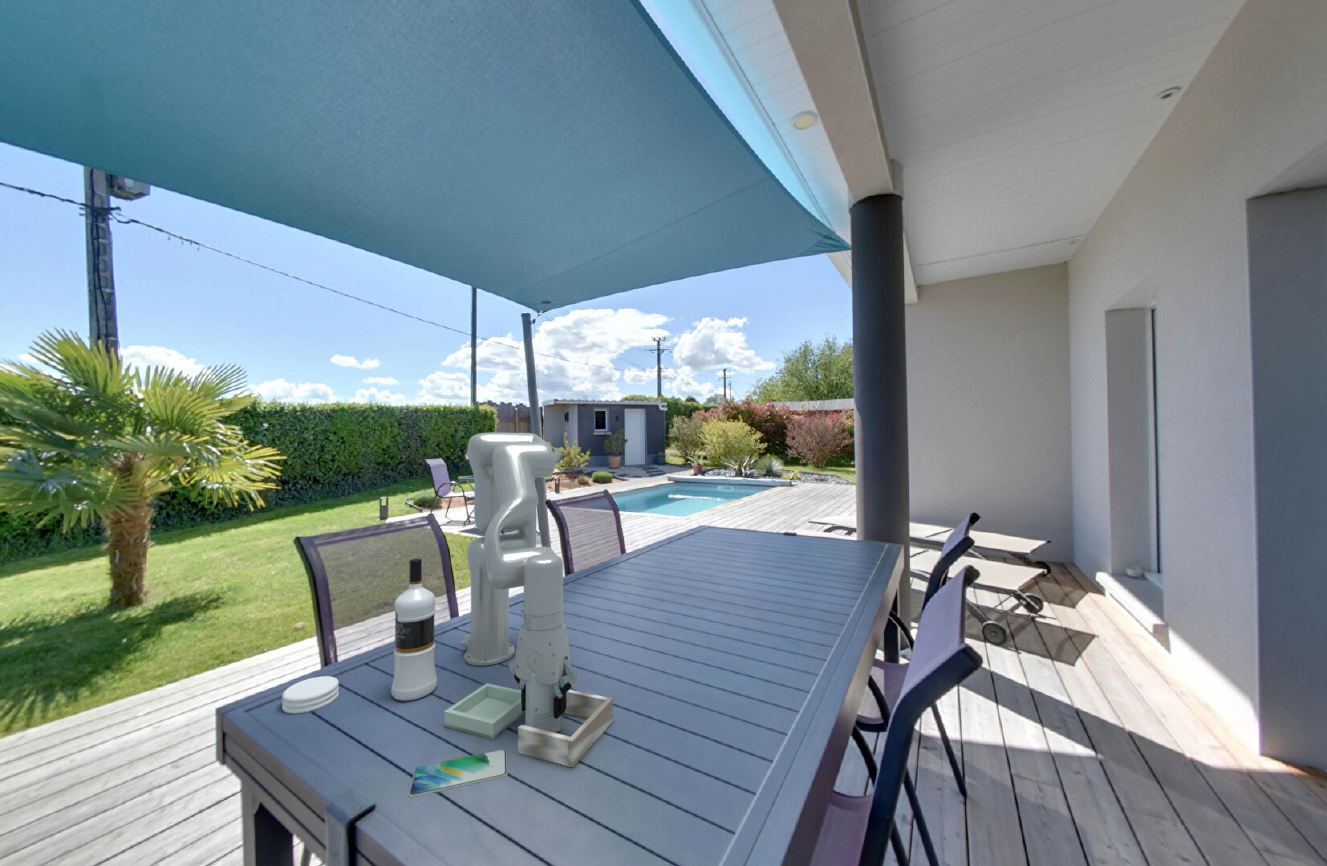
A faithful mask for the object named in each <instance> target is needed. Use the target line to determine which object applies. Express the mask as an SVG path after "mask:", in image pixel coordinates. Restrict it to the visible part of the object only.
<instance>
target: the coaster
mask: <svg viewBox="0 0 1327 866" xmlns="http://www.w3.org/2000/svg"><path fill="white" fill-rule="evenodd" d="M339 684H340V682H339V680H338V679H337V678H336V677H333V676H329V675H328V676H327V675H325V676H324V675H323V676H315V677H311V678H306V679H305V680H301V681H299V682H298V681H297V682H296V683H294V684H292V685H290V686H288V688H286V689H285V690H284V691H283V693H282V695H281V698H282V700H281V703H282V705H281V709H282V711H283V712H284V713H287V714H292V715H293V714H294V715H295V714H297V715H298V714H304V713H310V712H313V711H316V710H319V709H321V708H324V707H326V706H328V705H330V704H331V703H332V702H335V700H336V699H337V698H338V697H339V694H340V693H339V692H340V691H339Z"/></svg>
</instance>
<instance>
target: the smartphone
mask: <svg viewBox="0 0 1327 866" xmlns="http://www.w3.org/2000/svg"><path fill="white" fill-rule="evenodd" d="M507 776H508V752H507V750H506V749H499V750H492V751H488V752H483V753H477V754H473V755H468V756H463V757H459V758H458V757H457V758H454V759H448V760H444V761H439V762H435V763H428V764H423V765H420V766H417V767H416V768H415V769H414V771H413V777H412V780H411V784H410V788H409V792H408V797H409V798H411V799H413V798H417V796H418V797H421V796H427V795H430V794H429V793H432V794H435V793H434V792H436V793H440V792H444V791H448V790H453V789H458V787H459V788H463V787H464V786H463V785H468V784H472V785H476V784H480V782H481V783H485V782H490V781H494V780H499V779H503V778H506V777H507ZM489 780H490V781H489ZM484 781H485V782H484ZM462 786H463V787H462ZM468 786H469V785H468Z"/></svg>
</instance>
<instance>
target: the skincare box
mask: <svg viewBox="0 0 1327 866" xmlns="http://www.w3.org/2000/svg"><path fill="white" fill-rule="evenodd" d="M559 684H560V682H559ZM560 687H561V684H560ZM561 688H562V687H561ZM555 696H556V693H555V691H554V688H553V685H545V684H540V683H537V682H536V674H531V681H526V713H525V714H524V715H525V719H524V720H525V721H524V722H525V723H524V725H525V726H529V727H533V728H537V729H541V730H545V731H549V732H553V733H558V732H559V731H561V730H562V715H561V716H560V717H559V718H558V719H555V718H554V697H555Z"/></svg>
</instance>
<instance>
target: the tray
mask: <svg viewBox="0 0 1327 866" xmlns="http://www.w3.org/2000/svg"><path fill="white" fill-rule="evenodd" d="M525 712H526V711H522V703H521V690H520V689H514V688H510V687H506V686H502V685H496V684H493V683H488V682H487V683H485V684H483V685H482V686H480V687H479V688H478V689H476V690H475V691H473V692H472V693H470V694H468V695H467V696H465V697H464V698H463V699H461V700H459V701H458V702H456V703H454V704H453V705H451V706H449V708H447V709H446V710H444V711H443V713H444V714H443V715H444V717H443V718H444V719H443V720H444V721H443V722H444V723H443V726H444V728H447V729H451V730H454V731H460V732H462V733H465V734H470V735H474V736H477V737H481V738H484V739H488V740H492V741H493V740H495V738H497V737H498V736H499V735H500V734H502V733H503V732H504V731H505V730H506V729H508V728H509V727H510V726H512V724H514V723H515V722H516V721H517V720H519V718H521V717H522V716H523V715H525V714H526V713H525ZM521 715H522V716H521Z"/></svg>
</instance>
